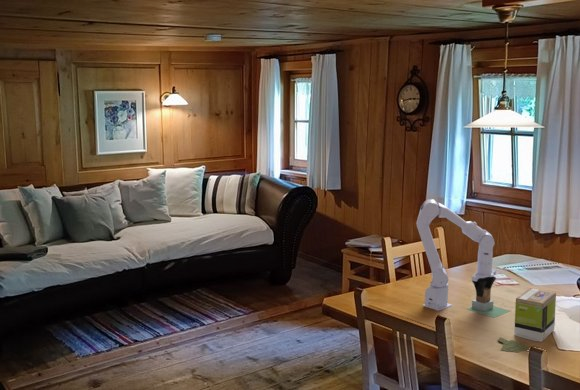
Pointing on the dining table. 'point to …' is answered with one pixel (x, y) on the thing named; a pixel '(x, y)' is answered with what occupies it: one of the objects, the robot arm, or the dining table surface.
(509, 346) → the green leaf
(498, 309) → the felt mat
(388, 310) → the dining table surface
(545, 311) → the tea box
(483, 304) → the base block
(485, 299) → the walnut cube
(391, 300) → the dining table surface
